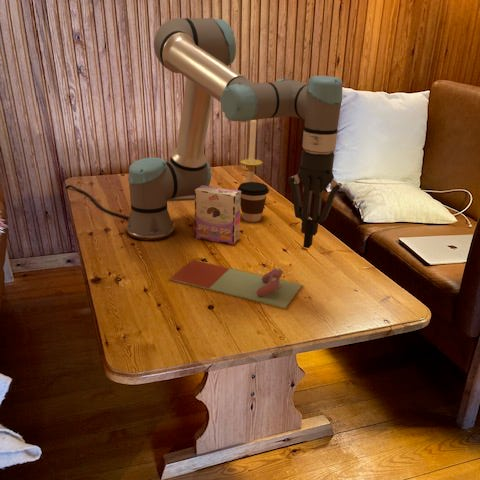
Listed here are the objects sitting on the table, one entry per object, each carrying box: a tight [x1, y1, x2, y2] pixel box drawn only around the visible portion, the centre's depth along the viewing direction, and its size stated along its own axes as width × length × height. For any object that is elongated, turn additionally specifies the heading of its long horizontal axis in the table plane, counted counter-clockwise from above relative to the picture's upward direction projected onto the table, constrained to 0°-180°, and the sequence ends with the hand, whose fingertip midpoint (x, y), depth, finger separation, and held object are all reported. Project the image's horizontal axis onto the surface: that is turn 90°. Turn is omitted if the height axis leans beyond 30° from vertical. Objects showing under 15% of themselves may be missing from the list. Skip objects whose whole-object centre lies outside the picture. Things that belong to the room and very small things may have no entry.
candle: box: [239, 120, 264, 182], centre depth 198 cm, size 10×10×32 cm
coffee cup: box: [237, 181, 270, 223], centre depth 188 cm, size 11×11×12 cm
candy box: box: [194, 185, 241, 246], centre depth 170 cm, size 14×6×16 cm, turn 69°
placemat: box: [169, 259, 303, 310], centre depth 148 cm, size 34×14×1 cm, turn 67°
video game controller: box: [257, 267, 284, 296], centre depth 143 cm, size 10×5×7 cm, turn 168°
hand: (307, 245), depth 134 cm, fingers closed
